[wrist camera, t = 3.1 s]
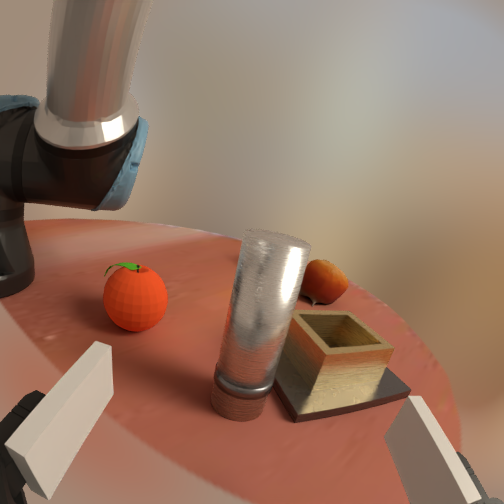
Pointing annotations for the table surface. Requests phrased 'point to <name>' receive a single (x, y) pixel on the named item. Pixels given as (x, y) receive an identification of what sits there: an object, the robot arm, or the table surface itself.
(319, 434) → the table surface
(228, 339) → the silver metal tall cylinder
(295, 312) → the gold square holder
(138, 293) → the clementine
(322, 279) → the fruit
